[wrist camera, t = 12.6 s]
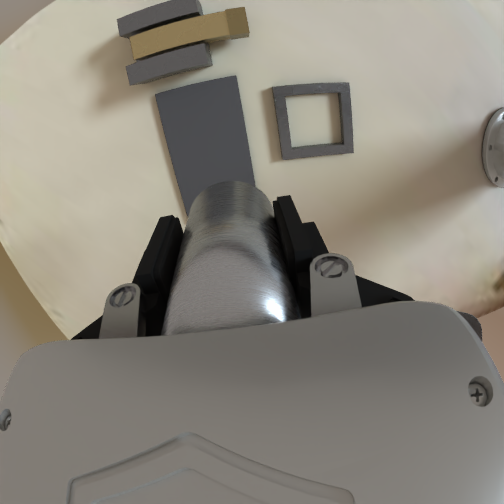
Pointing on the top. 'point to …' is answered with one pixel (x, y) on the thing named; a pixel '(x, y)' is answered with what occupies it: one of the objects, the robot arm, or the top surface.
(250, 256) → the peg
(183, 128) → the mat
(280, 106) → the socket collar
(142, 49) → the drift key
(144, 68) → the socket block
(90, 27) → the top surface
